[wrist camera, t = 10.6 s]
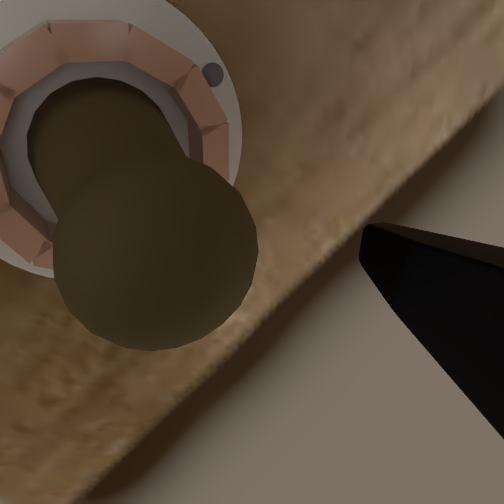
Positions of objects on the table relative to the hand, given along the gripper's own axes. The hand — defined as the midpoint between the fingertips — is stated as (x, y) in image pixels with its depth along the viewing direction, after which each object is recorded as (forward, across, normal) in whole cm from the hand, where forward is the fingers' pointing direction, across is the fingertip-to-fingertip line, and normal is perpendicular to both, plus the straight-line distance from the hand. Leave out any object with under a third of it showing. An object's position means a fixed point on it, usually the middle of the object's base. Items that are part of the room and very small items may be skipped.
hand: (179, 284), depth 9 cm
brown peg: (+12, 0, +1) cm, 12 cm away
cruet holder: (+13, 0, +1) cm, 13 cm away
